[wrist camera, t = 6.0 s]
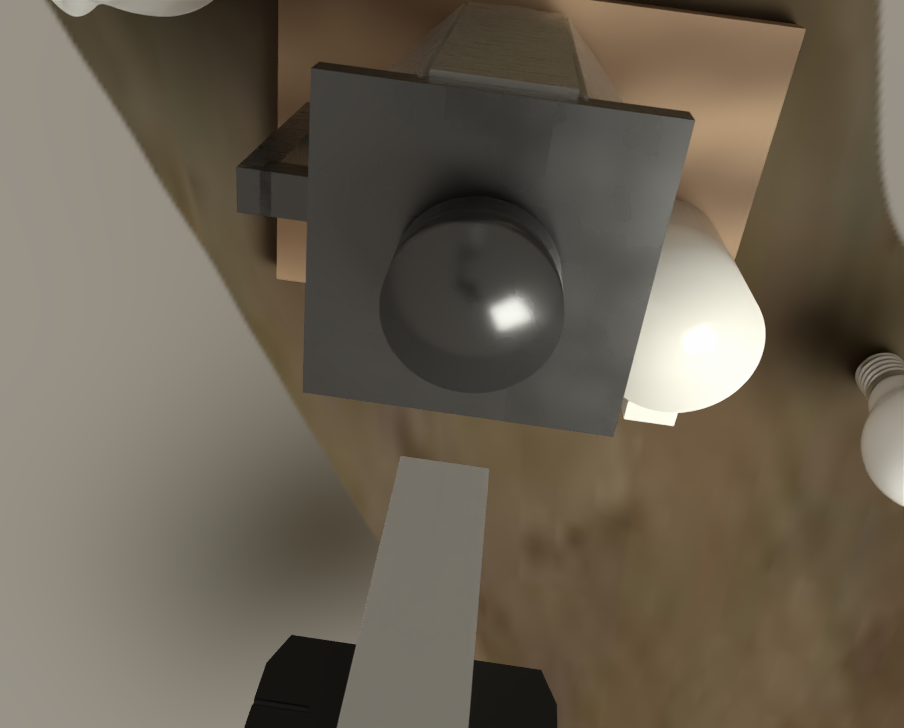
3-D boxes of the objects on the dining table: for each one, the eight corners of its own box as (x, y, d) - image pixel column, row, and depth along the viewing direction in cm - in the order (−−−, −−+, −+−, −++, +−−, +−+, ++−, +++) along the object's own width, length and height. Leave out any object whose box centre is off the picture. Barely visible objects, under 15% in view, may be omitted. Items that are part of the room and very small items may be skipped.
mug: (601, 188, 41) (616, 257, 34) (740, 207, 41) (787, 281, 34) (569, 338, 46) (577, 430, 38) (695, 355, 46) (728, 451, 38)
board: (287, -44, 39) (278, -42, 37) (796, 24, 38) (806, 28, 37) (283, 267, 47) (276, 278, 46) (704, 327, 46) (709, 339, 45)
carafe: (330, -21, 38) (186, 43, 22) (634, 20, 37) (705, 113, 22) (322, 205, 43) (202, 382, 28) (588, 242, 43) (617, 442, 27)
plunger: (414, 30, 36) (322, 138, 20) (608, 56, 35) (663, 185, 20) (398, 215, 40) (312, 420, 24) (571, 239, 40) (594, 460, 24)
